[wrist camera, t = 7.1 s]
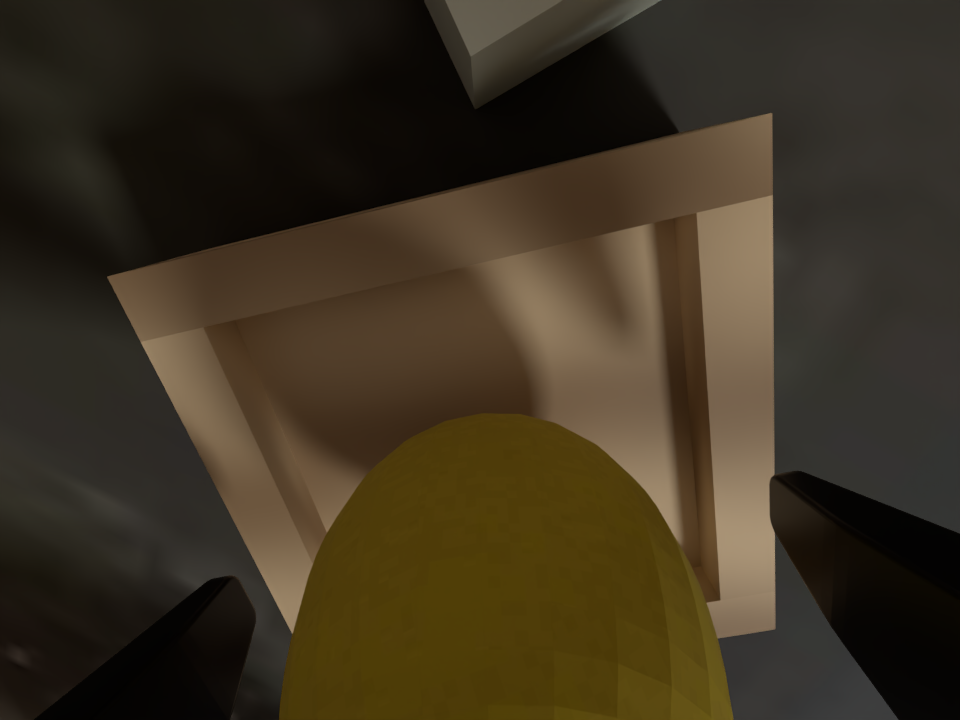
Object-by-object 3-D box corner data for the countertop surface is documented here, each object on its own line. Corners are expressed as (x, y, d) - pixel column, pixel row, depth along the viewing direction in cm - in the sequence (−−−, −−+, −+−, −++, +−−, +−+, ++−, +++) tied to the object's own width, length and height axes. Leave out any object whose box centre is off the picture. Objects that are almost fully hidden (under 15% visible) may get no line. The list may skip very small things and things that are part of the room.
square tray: (707, 525, 14) (775, 629, 11) (360, 588, 15) (327, 700, 12) (680, 132, 10) (771, 112, 7) (214, 247, 11) (106, 276, 8)
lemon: (551, 588, 12) (672, 1286, 4) (338, 518, 11) (43, 1220, 4) (664, 404, 10) (1204, 1066, 3) (418, 305, 9) (162, 836, 2)
